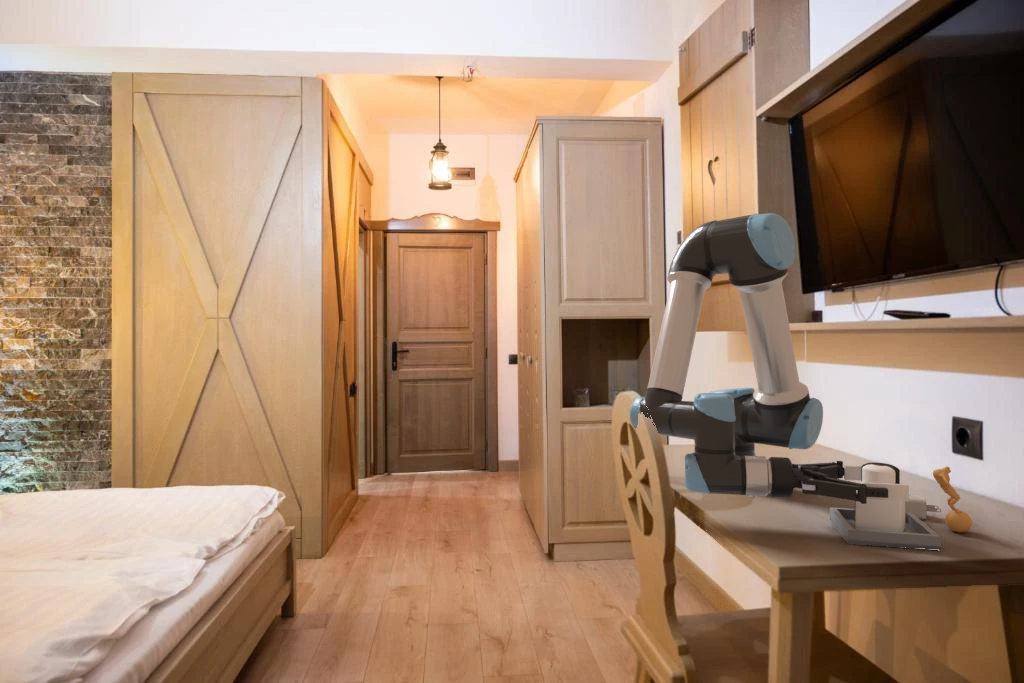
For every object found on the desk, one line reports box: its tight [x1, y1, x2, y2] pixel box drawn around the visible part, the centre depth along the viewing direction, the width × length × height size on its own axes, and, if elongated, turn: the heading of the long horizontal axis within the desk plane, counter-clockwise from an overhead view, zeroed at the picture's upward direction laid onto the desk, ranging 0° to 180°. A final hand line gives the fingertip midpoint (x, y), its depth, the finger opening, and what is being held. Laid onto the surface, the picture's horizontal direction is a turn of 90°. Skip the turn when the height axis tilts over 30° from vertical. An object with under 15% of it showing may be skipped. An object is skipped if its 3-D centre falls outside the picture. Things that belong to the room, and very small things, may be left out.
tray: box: [829, 507, 942, 551], centre depth 110 cm, size 14×14×2 cm
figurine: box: [932, 466, 973, 533], centre depth 111 cm, size 8×6×12 cm
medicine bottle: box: [854, 462, 905, 532], centre depth 110 cm, size 7×7×12 cm
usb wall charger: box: [905, 494, 942, 520], centre depth 120 cm, size 4×7×4 cm, turn 66°
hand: (894, 483), depth 110 cm, fingers open, 13 cm apart
